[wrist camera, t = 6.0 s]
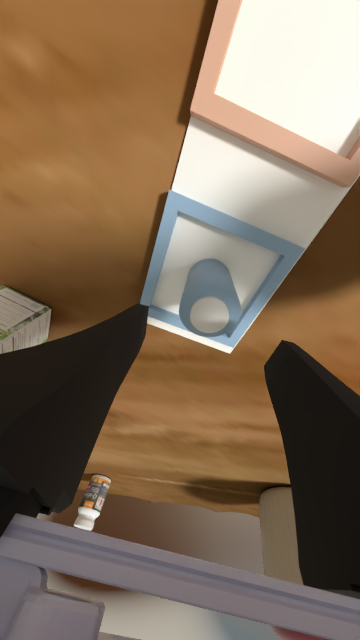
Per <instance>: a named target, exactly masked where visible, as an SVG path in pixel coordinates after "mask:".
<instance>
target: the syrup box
mask: <svg viewBox="0 0 360 640" xmlns="http://www.w3.org/2000/svg"><path fill="white" fill-rule="evenodd" d="M51 310H52V309H51V308H50V307H48V306H46V305H44V304H42V303H40V302H38V301H35V300H33V299H31V298H29V297H27V296H25V295H23V294H21V293H19V292H17V291H15V290H13V289H11V288H9V287H7V286H5V285H2V286H0V354H2V353H6V352H11V351H16V350H20V349H24V348H28V347H32V346H36V345H39V344H43V343H44V342H45V341H46V340H47V338H48V333H49V326H50V318H51Z"/></svg>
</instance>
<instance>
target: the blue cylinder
mask: <svg viewBox="0 0 360 640" xmlns="http://www.w3.org/2000/svg"><path fill="white" fill-rule="evenodd" d="M240 315H241V305H240V301H239V298H238V295H237V292H236V289H235V286H234V284H233V281H232V278H231V275H230V272H229V270H228V268H227V267H226V265H225V264H224V263H222V262H220V261H219V260H216V259H204V260H201V261H199V262H197V263H196V264H195V265H194V266H193V267H192V268H191V269H190V271H189V274H188V277H187V280H186V284H185V287H184V291H183V294H182V298H181V301H180V305H179V316H180V319H181V322H182V323H183V325H184V326H185V327H186V328H187V329H188V330H189V331H190V332H192V333H194V334H196V335H199V336H203V337H216V336H220V335H223V334H225V333H227V332H229V331H230V330H231V329H233V328H234V327H235V325H236V324H237V323H238V321H239V318H240Z"/></svg>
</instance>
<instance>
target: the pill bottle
mask: <svg viewBox="0 0 360 640" xmlns="http://www.w3.org/2000/svg"><path fill="white" fill-rule="evenodd" d="M110 483H111V480H110V479H109V478H108V477H106V476H103V475H99V474H96V475H93V476H92V478H91V481H90V483H89V485H88V487H87V490H86V492H85V495H84V497H83V499H82V501H81V504H80V506H79V509H78V512H79V516H78V518H77V519H76V521H75V523H74V526H76V527H78V528H81V529H86V530H92V528H93V526H94V520H95V518H97V517H98V516H99V514H100V512H101V509H102V506H103V503H104V500H105V497H106V495H107V492H108V489H109V486H110Z"/></svg>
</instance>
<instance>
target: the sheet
mask: <svg viewBox="0 0 360 640" xmlns="http://www.w3.org/2000/svg"><path fill="white" fill-rule="evenodd" d="M215 94H216V95H218V96H220V97H222V98H224V99H226V100H229V101H231V102H233V103H235V104H237V105H239V106H241V107H243V108H245V109H247V110H249V111H251V112H253V113H255V114H257V115H259V116H261V117H263V118H265V119H267V120H269V121H271V122H273V123H275V124H277V125H279V126H281V127H283V128H285V129H288V130H290V131H292V132H294V133H296V134H298V135H300V136H302V137H304V138H306V139H308V140H310V141H312V142H314V143H316V144H318V145H320V146H322V147H324V148H326V149H328V150H330V151H332V152H334V153H336V154H338V155H340V156H342V157H344V158H346V156H347V155H348V153H349V152H350V150H351V149H352V147H353V146H354V144H355V142H356V141H357V139H358V138H359V136H360V0H243V1H242V4H241V8H240V11H239V14H238V18H237V21H236V24H235V28H234V31H233V34H232V38H231V41H230V44H229V48H228V51H227V54H226V57H225V61H224V64H223V67H222V71H221V74H220V77H219V81H218V84H217V87H216V91H215ZM359 176H360V174H359V175H358V177H359ZM358 177H357V178H356V180H357V179H358ZM356 180H355V181H356ZM355 181H354V182H353V184H354V183H355ZM353 184H352V185H351V186H350V187H344V188H342V187H340V186H338V185H336V184H333V183H331V182H329V181H327V180H325V179H323V178H321V177H319V176H317V175H314V174H312V173H310V172H308V171H306V170H304V169H302V168H300V167H298V166H296V165H293V164H291V163H289V162H287V161H285V160H283V159H281V158H279V157H277V156H275V155H272V154H270V153H268V152H266V151H264V150H262V149H260V148H258V147H256V146H253V145H251V144H249V143H247V142H245V141H243V140H241V139H239V138H237V137H235V136H232V135H230V134H228V133H226V132H224V131H222V130H220V129H218V128H216V127H214V126H211V125H209V124H207V123H205V122H203V121H201V120H199V119H197V118H195V117H192V116H191V118H190V122H189V125H188V129H187V133H186V137H185V140H184V144H183V148H182V152H181V156H180V159H179V163H178V167H177V171H176V174H175V178H174V182H173V186H172V189H171V190H172V191H174V192H176V193H179V194H181V195H183V196H186V197H188V198H190V199H193V200H195V201H197V202H199V203H202V204H204V205H206V206H209V207H211V208H213V209H215V210H218V211H220V212H222V213H225V214H227V215H229V216H232V217H234V218H236V219H238V220H241V221H243V222H245V223H248V224H250V225H252V226H255V227H257V228H259V229H261V230H264V231H266V232H268V233H271V234H273V235H275V236H277V237H280V238H282V239H284V240H287V241H289V242H291V243H294V244H296V245H298V246H300V247H303V248H305V250H306V249H307V247H308V246H309V245H310V243H311V242H312V240H313V239H314V238H315V236H316V235H317V234H318V232H319V231H320V229H321V228H322V227H323V225H324V224H325V223H326V221H327V220H328V219H329V217H330V216H331V214H332V213H333V212H334V210H335V209H336V208H337V206H338V205H339V203H340V202H341V201H342V199H343V198H344V197H345V195H346V194H347V192H348V191H349V190H350V188H351V187H352V186H353ZM305 250H304V251H305ZM304 251H303V253H304ZM303 253H302V254H303ZM302 254H301V255H300V257H301V256H302ZM280 256H281V254H278V253H276V252H274V251H271V250H269V249H267V248H264V247H262V246H260V245H257V244H255V243H253V242H250V241H248V240H246V239H243V238H241V237H239V236H236V235H234V234H232V233H229V232H227V231H225V230H222V229H220V228H218V227H215V226H213V225H210V224H208V223H206V222H203V221H201V220H199V219H196V218H194V217H192V216H189V215H187V214H185V213H182V212H180V211H179V213H178V216H177V220H176V223H175V226H174V230H173V233H172V236H171V240H170V243H169V246H168V250H167V253H166V256H165V259H164V263H163V266H162V269H161V273H160V276H159V279H158V283H157V286H156V289H155V293H154V296H153V299H152V303H151V305H154V306H156V307H159V308H162V309H164V310H167V311H170V312H172V313H175V314H178V315H179V305H180V301H181V298H182V294H183V291H184V287H185V284H186V280H187V277H188V274H189V271H190V269H191V268H192V267H193V266H194V265H195V264H196V263H197V262H199V261H201V260H204V259H216V260H219V261H220V262H222V263H224V264H225V265H226V267H227V268H228V270H229V272H230V275H231V278H232V281H233V284H234V286H235V289H236V292H237V295H238V298H239V301H240V305H241V314H242V313H243V311H244V310H245V308H246V307H247V305H248V304H249V302H250V301H251V299H252V298H253V296H254V295H255V293H256V292H257V290H258V289H259V287H260V286H261V284H262V283H263V281H264V280H265V278H266V277H267V275H268V274H269V272H270V271H271V269H272V268H273V266H274V265H275V263H276V262H277V260H278V259H279V257H280ZM300 257H299V258H300ZM299 258H298V259H297V261H298V260H299ZM297 261H296V262H297ZM296 262H295V264H296ZM295 264H294V265H295ZM294 265H293V266H292V268H293V267H294ZM292 268H291V269H292ZM291 269H290V270H289V272H290V271H291ZM289 272H288V273H289ZM288 273H287V275H288ZM287 275H286V276H287ZM286 276H285V277H286ZM285 277H284V279H285ZM284 279H283V280H284ZM283 280H282V282H283ZM282 282H281V283H282ZM281 283H280V284H281ZM280 284H279V286H280ZM279 286H278V287H279ZM278 287H277V288H278ZM277 288H276V290H277ZM276 290H275V291H276ZM275 291H274V293H275ZM274 293H273V294H274ZM273 294H272V295H273ZM272 295H271V297H272ZM271 297H270V298H271ZM270 298H269V299H270ZM269 299H268V301H269ZM268 301H267V302H268ZM267 302H266V304H267ZM266 304H265V305H266ZM265 305H264V306H265ZM264 306H263V308H264ZM263 308H262V309H263ZM262 309H261V310H262ZM261 310H260V312H261ZM260 312H259V313H260ZM259 313H258V315H259ZM258 315H257V316H258ZM240 316H241V315H240ZM257 316H256V317H257ZM256 317H255V319H256ZM255 319H254V320H255ZM254 320H253V321H254ZM253 321H252V323H253ZM147 323H148V324H151V325H154V326H156V327H159V328H162V329H164V330H167V331H170V332H173V333H175V334H178V335H181V336H183V337H186V338H189V339H192V340H194V341H197V342H200V343H202V344H205V345H208V346H211V347H213V348H216V349H219V350H221V351H224V352H227V353H231V352H232V350H233V349H234V348H232V347H229V346H227V345H224V344H221V343H219V342H216V341H213V340H210V339H208V338H205V337H202V336H199V335H196V334H194V333H192V332H189V331H186V330H184V329H181V328H178V327H175V326H173V325H170V324H167V323H165V322H162V321H159V320H157V319H154V318H151V317H149V316H148V319H147ZM252 323H251V324H252ZM251 324H250V325H251ZM249 327H250V326H249ZM249 327H248V328H249ZM248 328H247V330H248ZM247 330H246V331H247ZM230 331H231V330H230ZM230 331H229V332H230ZM246 331H245V332H246ZM229 332H227V333H228V334H229ZM245 332H244V334H245ZM244 334H243V335H244ZM243 335H242V336H243ZM241 338H242V337H241ZM241 338H240V339H241ZM240 339H239V341H240ZM239 341H238V342H239ZM238 342H237V343H238ZM236 345H237V344H236ZM236 345H235V346H236ZM235 346H234V347H235Z"/></svg>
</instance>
